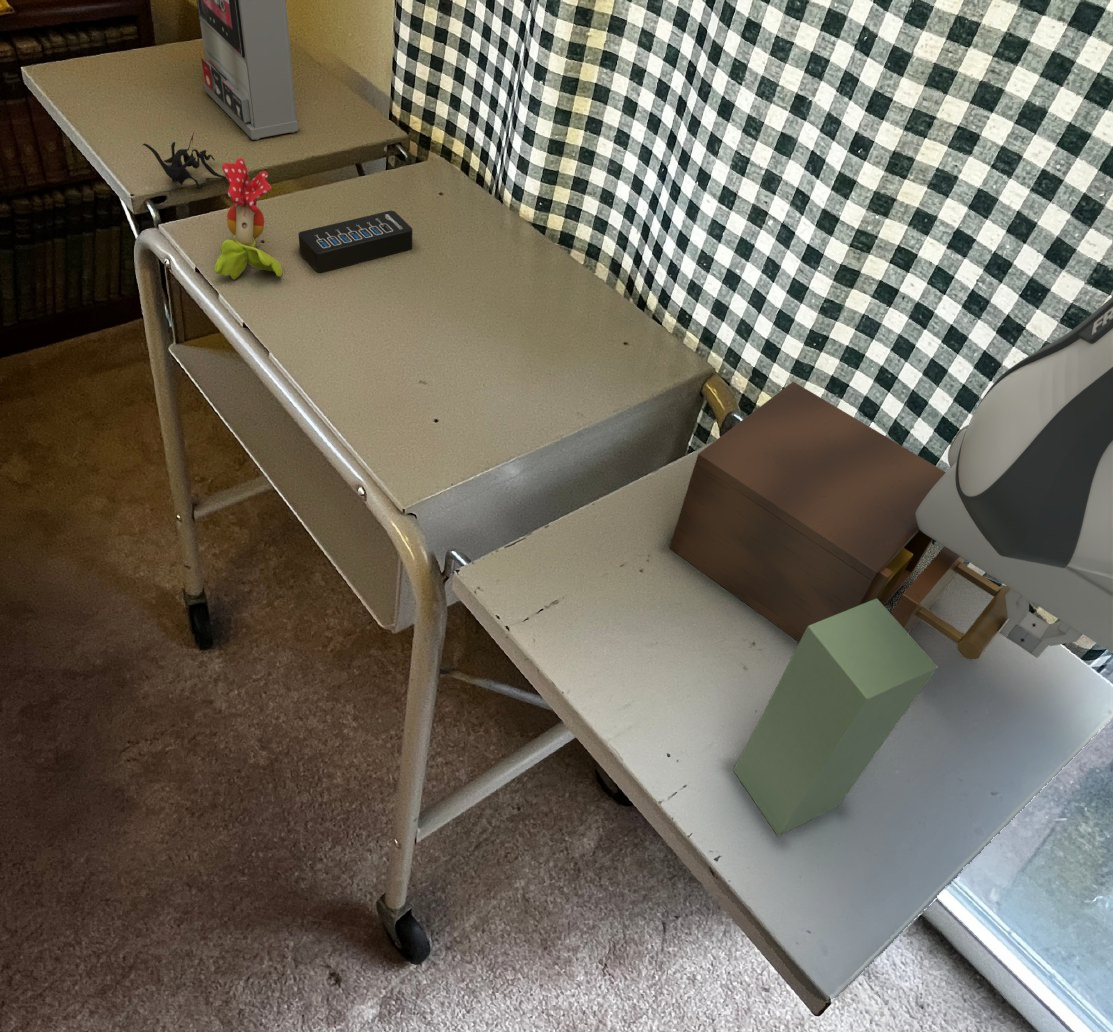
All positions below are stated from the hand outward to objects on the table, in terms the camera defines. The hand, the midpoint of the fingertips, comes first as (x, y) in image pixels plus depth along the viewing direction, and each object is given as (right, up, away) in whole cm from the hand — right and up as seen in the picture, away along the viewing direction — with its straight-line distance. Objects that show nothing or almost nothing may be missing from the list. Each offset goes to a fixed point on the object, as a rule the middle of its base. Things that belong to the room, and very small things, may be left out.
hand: (1021, 640), depth 65 cm
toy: (-9, +4, +8) cm, 12 cm away
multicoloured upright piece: (-63, +34, +30) cm, 77 cm away
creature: (-72, +46, +40) cm, 94 cm away
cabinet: (-13, +5, +11) cm, 18 cm away
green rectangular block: (-17, -9, -3) cm, 19 cm away
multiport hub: (-52, +36, +34) cm, 72 cm away
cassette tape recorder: (-69, +58, +52) cm, 104 cm away
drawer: (-9, +2, +8) cm, 12 cm away
